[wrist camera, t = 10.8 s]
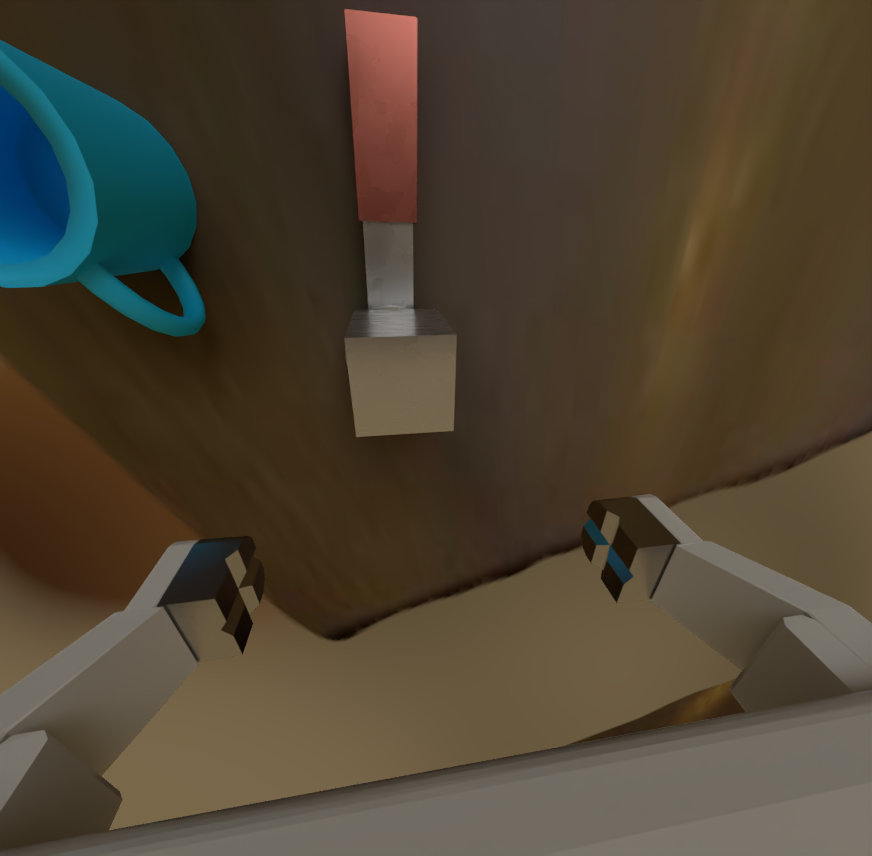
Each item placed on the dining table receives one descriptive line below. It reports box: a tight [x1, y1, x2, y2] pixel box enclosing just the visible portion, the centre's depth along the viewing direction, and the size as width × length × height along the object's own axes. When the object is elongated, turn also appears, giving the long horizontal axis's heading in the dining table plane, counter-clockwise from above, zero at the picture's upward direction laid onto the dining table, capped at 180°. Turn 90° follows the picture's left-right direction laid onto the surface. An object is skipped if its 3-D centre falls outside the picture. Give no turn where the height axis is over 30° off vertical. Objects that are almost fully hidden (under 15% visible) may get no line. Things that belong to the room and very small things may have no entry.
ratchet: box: [345, 9, 417, 367], centre depth 19 cm, size 18×6×6 cm, turn 179°
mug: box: [0, 40, 206, 337], centre depth 16 cm, size 12×8×8 cm
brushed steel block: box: [344, 309, 457, 437], centre depth 20 cm, size 5×5×6 cm
